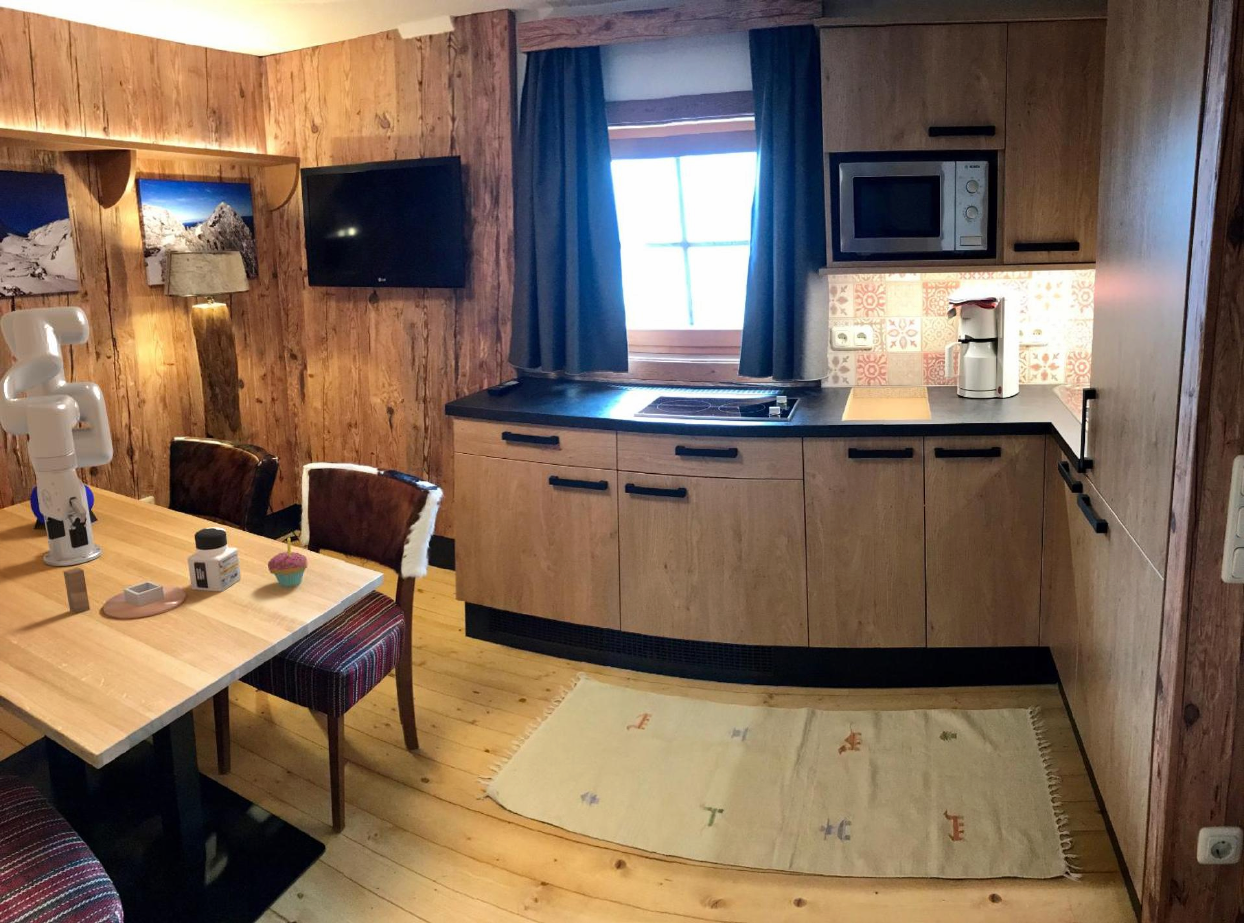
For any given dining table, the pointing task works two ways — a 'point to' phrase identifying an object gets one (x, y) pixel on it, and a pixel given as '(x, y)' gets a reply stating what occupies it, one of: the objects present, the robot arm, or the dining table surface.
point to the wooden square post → (76, 590)
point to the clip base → (144, 601)
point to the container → (213, 561)
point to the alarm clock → (40, 516)
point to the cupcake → (288, 567)
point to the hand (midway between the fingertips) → (68, 541)
